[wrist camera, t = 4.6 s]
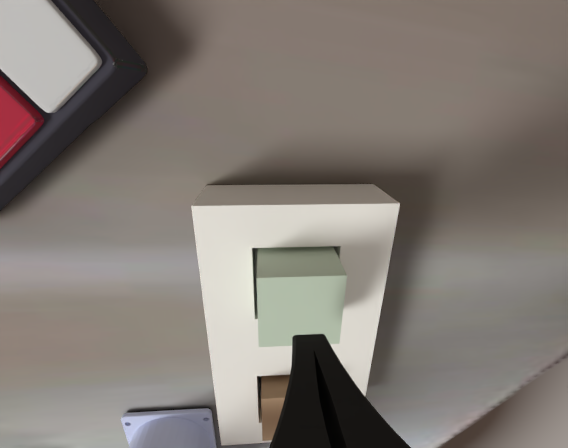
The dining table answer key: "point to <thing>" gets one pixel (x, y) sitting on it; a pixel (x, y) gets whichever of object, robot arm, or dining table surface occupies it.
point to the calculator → (55, 81)
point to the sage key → (299, 294)
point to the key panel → (243, 281)
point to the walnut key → (272, 402)
